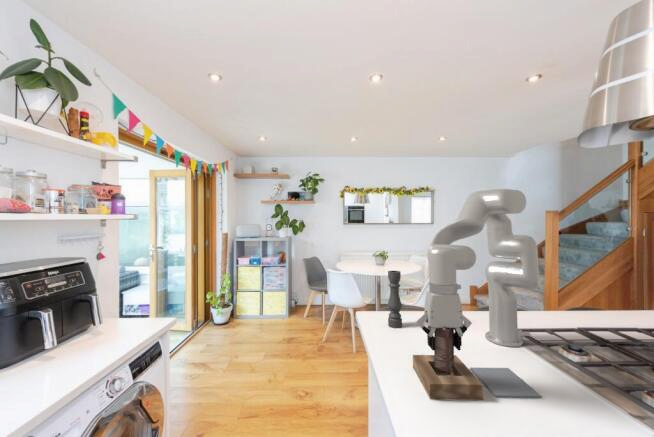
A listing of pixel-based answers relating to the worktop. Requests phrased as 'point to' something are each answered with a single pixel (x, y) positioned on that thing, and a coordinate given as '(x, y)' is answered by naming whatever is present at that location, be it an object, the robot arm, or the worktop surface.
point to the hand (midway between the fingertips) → (444, 347)
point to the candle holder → (394, 300)
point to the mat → (504, 383)
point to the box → (444, 348)
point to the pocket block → (447, 380)
